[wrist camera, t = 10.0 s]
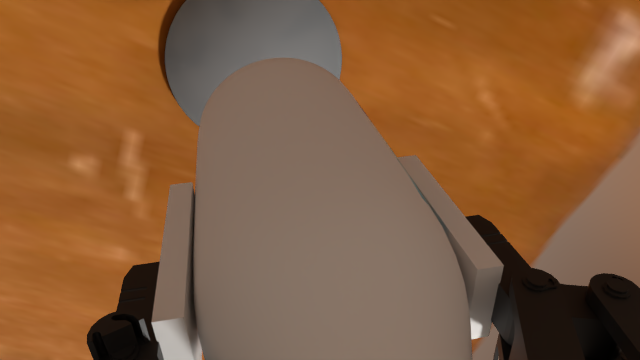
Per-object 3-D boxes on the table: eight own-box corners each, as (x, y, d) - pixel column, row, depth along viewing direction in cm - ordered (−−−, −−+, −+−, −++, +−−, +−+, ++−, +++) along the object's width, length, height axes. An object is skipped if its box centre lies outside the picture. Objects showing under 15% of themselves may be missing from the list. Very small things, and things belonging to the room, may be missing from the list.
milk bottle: (171, 164, 23) (67, 878, 6) (245, 20, 21) (410, 579, 4) (306, 218, 26) (479, 792, 9) (386, 100, 24) (822, 599, 7)
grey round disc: (182, 150, 36) (182, 153, 35) (148, -25, 30) (147, -24, 29) (340, 132, 38) (342, 135, 37) (339, -36, 31) (341, -35, 31)
